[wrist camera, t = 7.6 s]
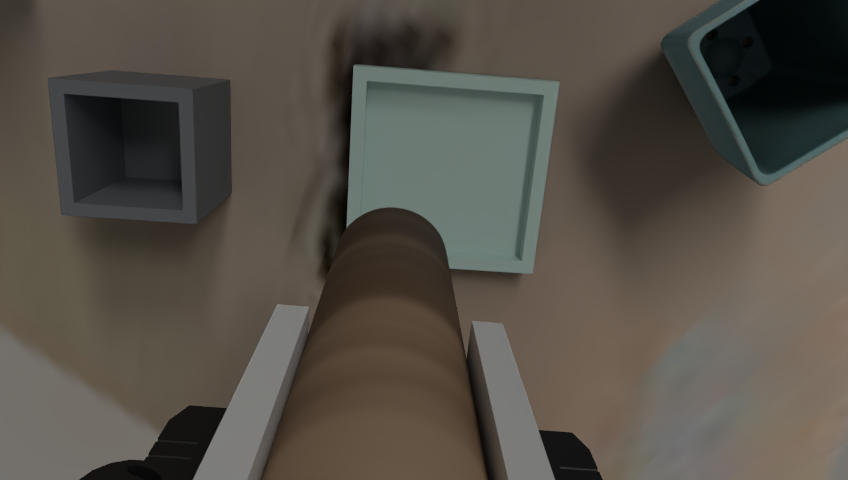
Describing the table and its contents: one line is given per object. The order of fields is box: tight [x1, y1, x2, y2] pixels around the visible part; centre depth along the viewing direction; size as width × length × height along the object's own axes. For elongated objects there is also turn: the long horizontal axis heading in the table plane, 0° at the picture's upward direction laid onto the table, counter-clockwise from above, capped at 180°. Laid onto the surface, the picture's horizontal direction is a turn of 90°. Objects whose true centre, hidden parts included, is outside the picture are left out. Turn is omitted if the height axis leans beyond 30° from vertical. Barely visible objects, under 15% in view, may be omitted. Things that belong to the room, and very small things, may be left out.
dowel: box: [261, 207, 489, 480], centre depth 15 cm, size 4×4×16 cm
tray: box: [347, 64, 560, 274], centre depth 39 cm, size 12×12×2 cm
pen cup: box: [48, 71, 232, 224], centre depth 35 cm, size 7×7×7 cm
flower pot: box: [661, 0, 848, 186], centre depth 34 cm, size 9×9×9 cm
